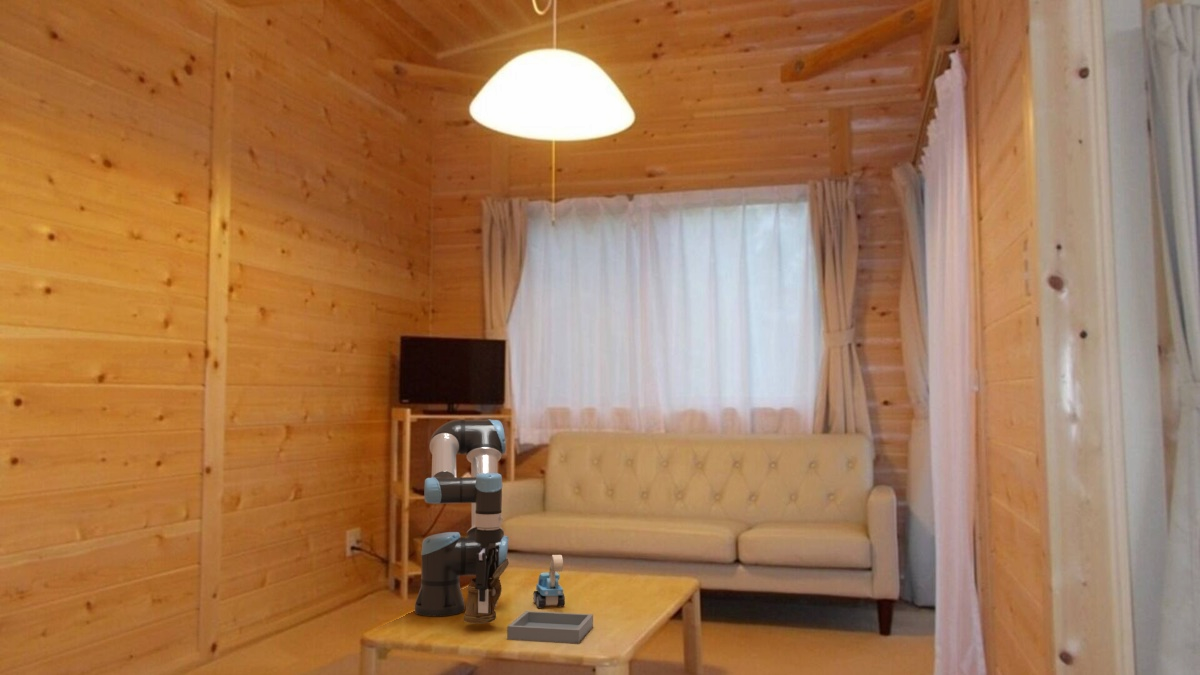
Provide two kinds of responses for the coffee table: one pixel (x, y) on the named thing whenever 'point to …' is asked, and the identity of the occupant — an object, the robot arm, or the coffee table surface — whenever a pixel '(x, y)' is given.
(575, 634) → the slate tray
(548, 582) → the toy excavator
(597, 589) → the coffee table surface
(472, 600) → the wooden mug
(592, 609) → the coffee table surface
